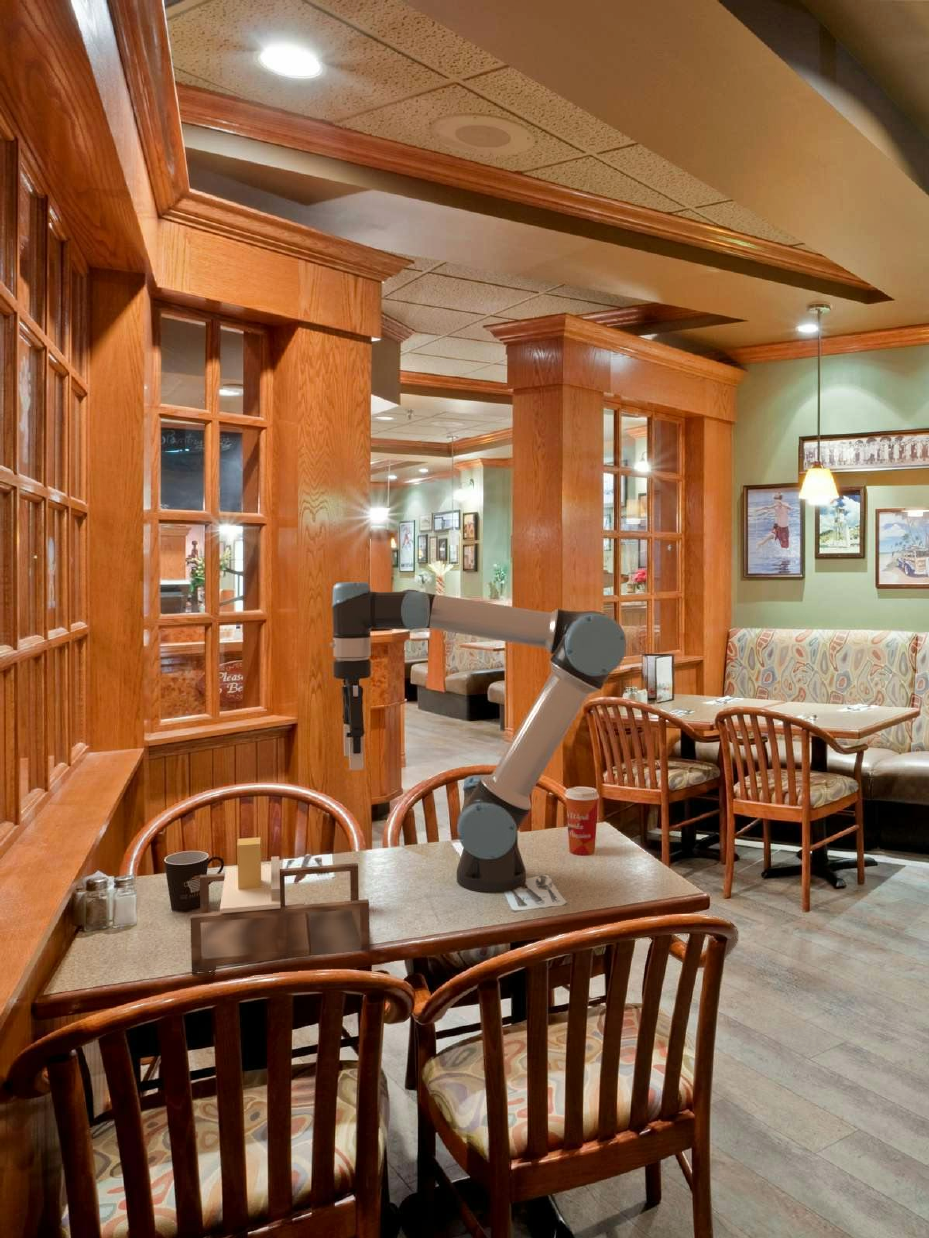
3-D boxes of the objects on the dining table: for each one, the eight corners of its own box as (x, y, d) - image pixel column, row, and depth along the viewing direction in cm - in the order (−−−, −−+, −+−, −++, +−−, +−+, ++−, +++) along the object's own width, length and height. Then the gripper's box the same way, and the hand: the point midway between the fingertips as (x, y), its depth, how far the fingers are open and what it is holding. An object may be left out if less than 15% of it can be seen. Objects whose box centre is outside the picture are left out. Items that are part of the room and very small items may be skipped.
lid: (279, 867, 173) (279, 853, 173) (280, 908, 152) (280, 892, 152) (226, 871, 171) (225, 857, 170) (219, 913, 150) (219, 897, 150)
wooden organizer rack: (358, 910, 177) (357, 862, 176) (369, 956, 156) (369, 902, 155) (201, 924, 170) (200, 874, 170) (191, 974, 149) (190, 917, 149)
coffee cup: (557, 851, 213) (557, 789, 212) (579, 844, 218) (579, 784, 218) (584, 859, 207) (584, 796, 206) (606, 851, 212) (607, 790, 211)
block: (261, 879, 163) (260, 837, 163) (261, 887, 160) (260, 843, 159) (238, 881, 163) (238, 838, 162) (238, 889, 159) (237, 845, 158)
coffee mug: (164, 916, 174) (163, 866, 174) (166, 900, 183) (165, 853, 182) (225, 909, 178) (224, 860, 177) (224, 894, 186) (223, 847, 185)
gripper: (329, 653, 191) (330, 750, 192) (337, 665, 166) (339, 776, 168) (364, 652, 192) (365, 749, 194) (377, 664, 168) (379, 774, 169)
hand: (353, 762), depth 181 cm, fingers open, 13 cm apart
